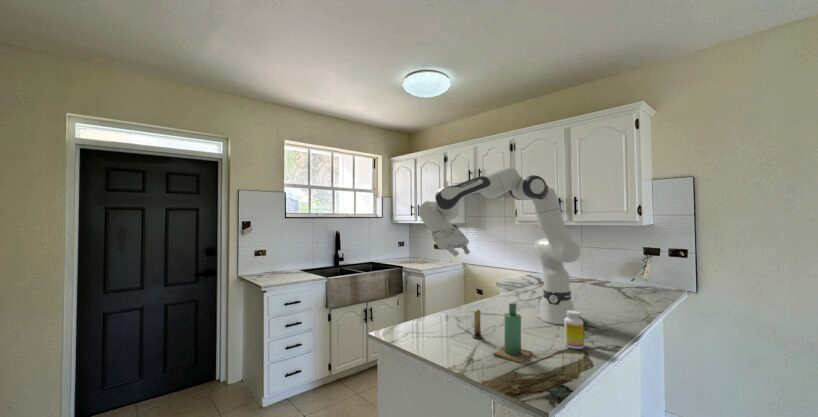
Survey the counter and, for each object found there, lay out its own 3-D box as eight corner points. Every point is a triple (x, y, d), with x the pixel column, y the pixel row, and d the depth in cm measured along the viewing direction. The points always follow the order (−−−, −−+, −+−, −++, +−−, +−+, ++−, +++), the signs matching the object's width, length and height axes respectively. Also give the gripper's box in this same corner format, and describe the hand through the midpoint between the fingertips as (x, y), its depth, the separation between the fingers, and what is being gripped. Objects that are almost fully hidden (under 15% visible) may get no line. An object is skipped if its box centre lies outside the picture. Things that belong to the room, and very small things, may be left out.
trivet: (505, 347, 124) (505, 345, 124) (532, 353, 118) (531, 351, 118) (493, 355, 117) (493, 353, 117) (521, 363, 110) (521, 360, 110)
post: (475, 335, 138) (475, 308, 138) (484, 337, 135) (483, 309, 136) (470, 337, 135) (470, 310, 135) (479, 339, 132) (479, 312, 132)
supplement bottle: (587, 349, 121) (586, 314, 122) (569, 349, 122) (568, 314, 122) (578, 343, 128) (577, 309, 129) (561, 343, 128) (560, 309, 129)
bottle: (508, 348, 121) (508, 301, 122) (523, 351, 118) (523, 303, 119) (502, 352, 117) (501, 304, 118) (517, 356, 114) (517, 306, 114)
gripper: (433, 226, 137) (454, 251, 131) (459, 225, 153) (478, 247, 147) (425, 236, 140) (445, 261, 133) (451, 235, 156) (469, 257, 149)
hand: (462, 254), depth 140 cm, fingers open, 8 cm apart
